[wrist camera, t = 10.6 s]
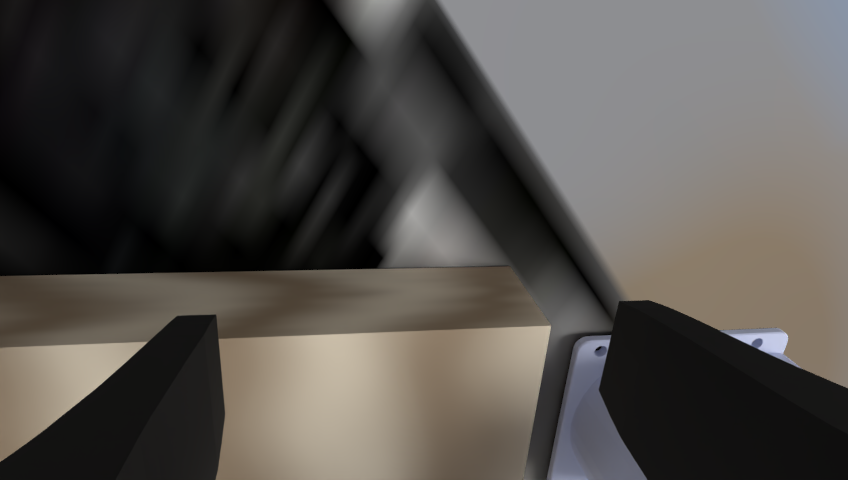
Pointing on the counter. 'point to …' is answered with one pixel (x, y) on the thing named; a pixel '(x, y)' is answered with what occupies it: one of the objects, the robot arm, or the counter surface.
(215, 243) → the counter surface
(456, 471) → the birch plate
